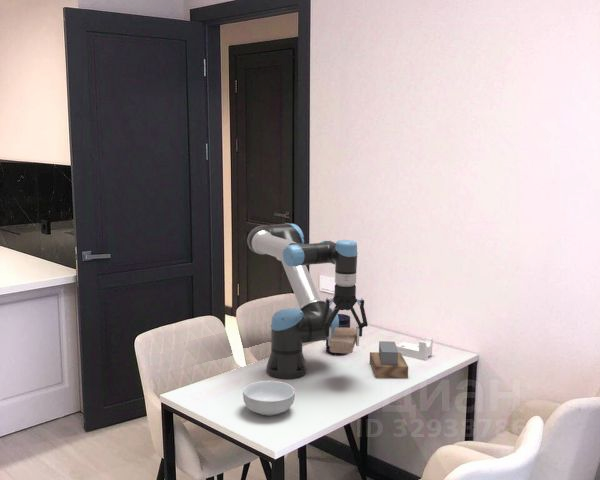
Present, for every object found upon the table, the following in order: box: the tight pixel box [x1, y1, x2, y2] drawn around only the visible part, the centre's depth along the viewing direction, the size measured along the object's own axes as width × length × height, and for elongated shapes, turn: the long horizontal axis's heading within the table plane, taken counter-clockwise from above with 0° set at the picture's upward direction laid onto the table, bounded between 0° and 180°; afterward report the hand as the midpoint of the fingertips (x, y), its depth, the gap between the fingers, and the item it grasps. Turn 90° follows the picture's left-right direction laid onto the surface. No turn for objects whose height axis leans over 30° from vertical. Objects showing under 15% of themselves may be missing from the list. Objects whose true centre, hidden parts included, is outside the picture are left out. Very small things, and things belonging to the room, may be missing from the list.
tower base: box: [369, 351, 409, 379], centre depth 251 cm, size 12×16×5 cm
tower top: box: [378, 340, 398, 365], centre depth 250 cm, size 6×13×5 cm, turn 177°
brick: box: [330, 327, 356, 355], centre depth 236 cm, size 17×8×5 cm, turn 170°
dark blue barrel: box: [325, 313, 351, 357], centre depth 270 cm, size 10×10×15 cm
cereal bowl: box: [242, 380, 296, 417], centre depth 212 cm, size 17×17×7 cm
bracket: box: [396, 337, 434, 361], centre depth 269 cm, size 13×7×8 cm, turn 54°
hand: (343, 344), depth 236 cm, fingers closed on brick, 9 cm apart
